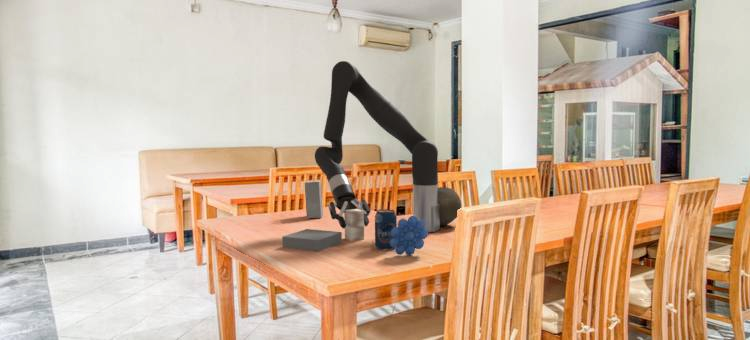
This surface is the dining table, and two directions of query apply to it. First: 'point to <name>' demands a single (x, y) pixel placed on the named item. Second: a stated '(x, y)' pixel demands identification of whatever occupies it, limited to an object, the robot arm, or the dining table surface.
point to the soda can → (384, 228)
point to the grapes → (408, 235)
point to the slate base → (312, 240)
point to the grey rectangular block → (313, 199)
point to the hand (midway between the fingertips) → (355, 226)
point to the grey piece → (354, 224)
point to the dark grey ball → (448, 205)
